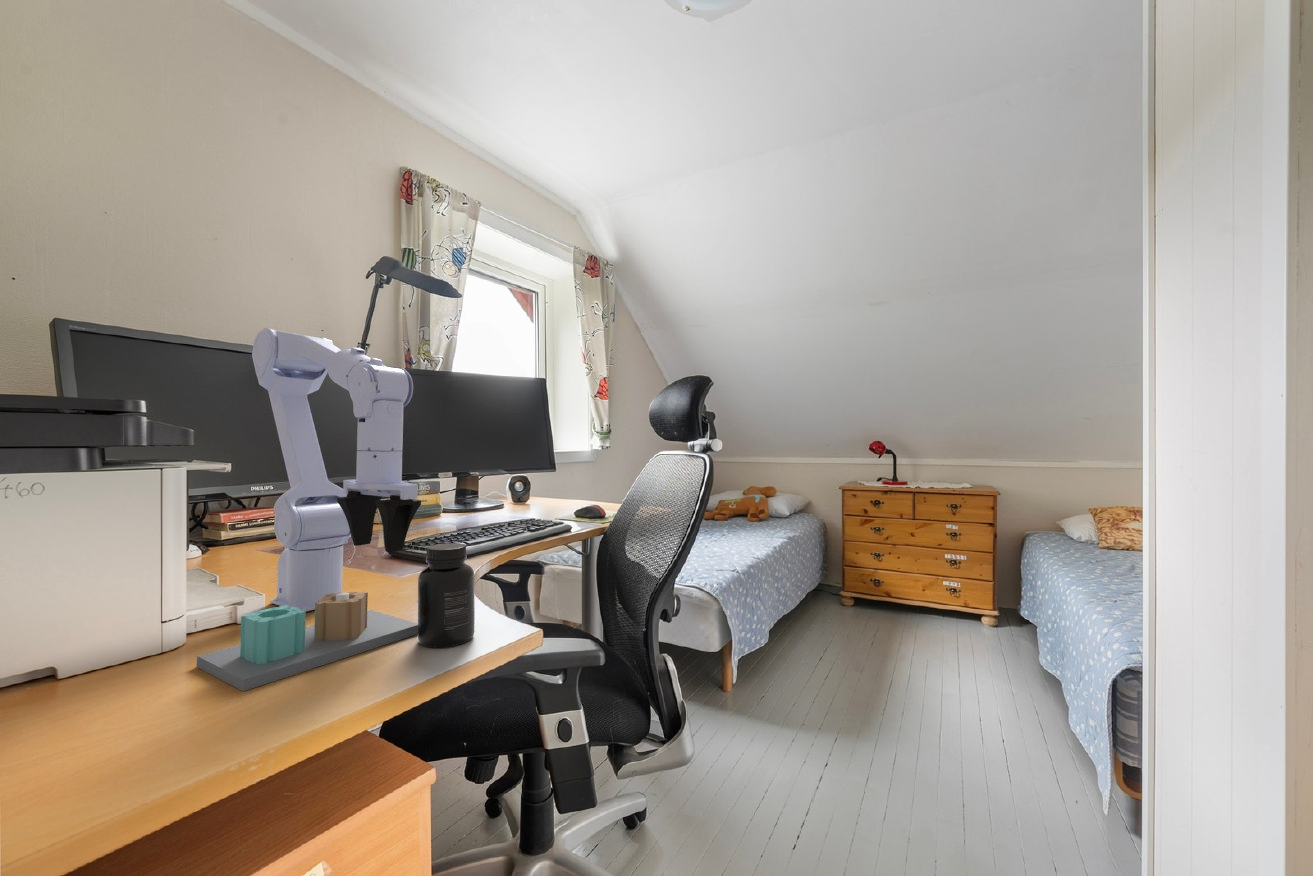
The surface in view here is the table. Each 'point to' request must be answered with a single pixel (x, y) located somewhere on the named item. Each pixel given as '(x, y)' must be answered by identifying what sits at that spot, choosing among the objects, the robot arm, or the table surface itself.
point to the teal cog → (272, 634)
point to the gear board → (315, 642)
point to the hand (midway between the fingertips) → (377, 547)
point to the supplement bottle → (446, 597)
